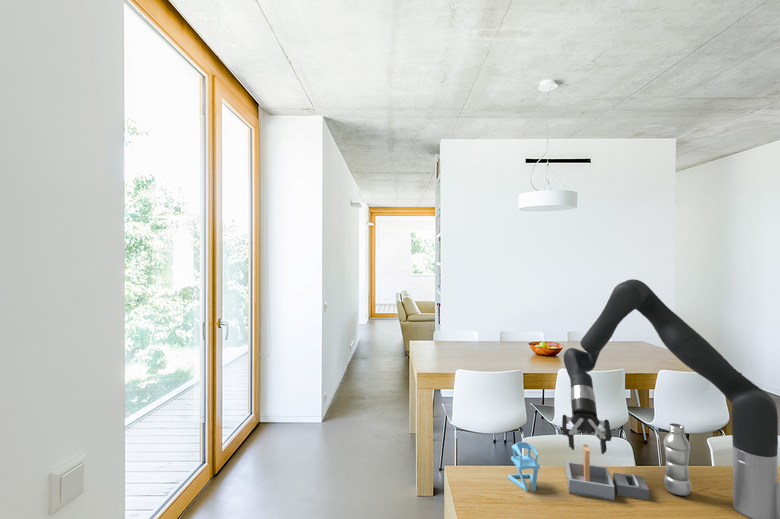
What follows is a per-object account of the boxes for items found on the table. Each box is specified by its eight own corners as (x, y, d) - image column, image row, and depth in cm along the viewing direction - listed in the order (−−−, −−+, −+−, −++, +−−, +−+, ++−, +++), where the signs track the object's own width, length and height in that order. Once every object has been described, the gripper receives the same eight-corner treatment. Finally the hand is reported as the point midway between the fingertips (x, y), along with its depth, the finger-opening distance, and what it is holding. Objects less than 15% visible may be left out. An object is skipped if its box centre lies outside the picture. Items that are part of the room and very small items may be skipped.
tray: (607, 480, 129) (607, 467, 129) (614, 500, 117) (614, 487, 117) (566, 473, 133) (566, 461, 133) (569, 493, 121) (569, 479, 121)
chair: (518, 492, 122) (518, 452, 122) (507, 477, 130) (507, 440, 130) (543, 490, 123) (543, 451, 123) (530, 476, 131) (531, 439, 131)
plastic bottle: (695, 500, 118) (695, 431, 118) (669, 497, 119) (669, 429, 119) (684, 488, 124) (684, 422, 124) (659, 485, 125) (659, 420, 126)
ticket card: (587, 476, 130) (587, 444, 130) (589, 483, 126) (589, 451, 126) (583, 475, 130) (583, 444, 130) (585, 482, 126) (585, 450, 126)
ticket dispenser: (642, 486, 125) (642, 474, 125) (649, 500, 118) (648, 487, 118) (613, 482, 128) (613, 470, 128) (617, 495, 120) (617, 482, 120)
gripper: (561, 394, 138) (563, 442, 127) (608, 399, 133) (615, 449, 122) (560, 405, 143) (562, 452, 132) (605, 409, 138) (611, 459, 127)
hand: (587, 450), depth 127 cm, fingers open, 8 cm apart
